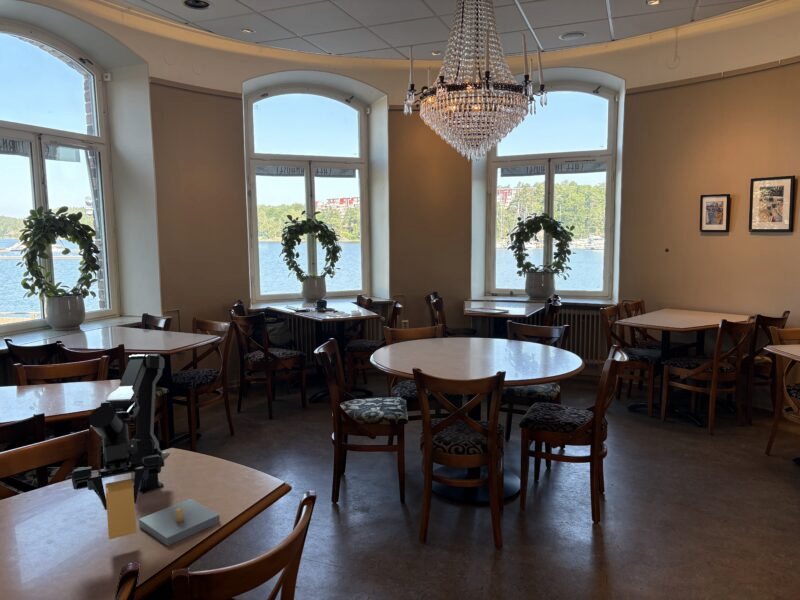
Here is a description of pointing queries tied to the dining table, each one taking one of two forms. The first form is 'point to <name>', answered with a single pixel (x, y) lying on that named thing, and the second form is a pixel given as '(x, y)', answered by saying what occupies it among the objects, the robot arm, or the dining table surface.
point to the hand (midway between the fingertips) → (120, 506)
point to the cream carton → (120, 508)
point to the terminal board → (178, 529)
